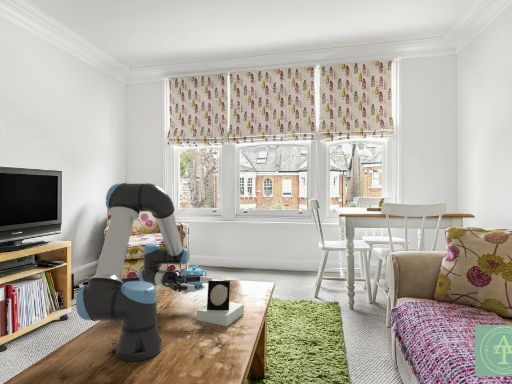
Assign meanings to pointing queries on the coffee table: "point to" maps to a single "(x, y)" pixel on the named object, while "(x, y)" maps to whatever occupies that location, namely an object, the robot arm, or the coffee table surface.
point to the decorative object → (218, 295)
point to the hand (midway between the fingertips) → (203, 284)
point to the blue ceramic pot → (194, 272)
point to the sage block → (221, 314)
